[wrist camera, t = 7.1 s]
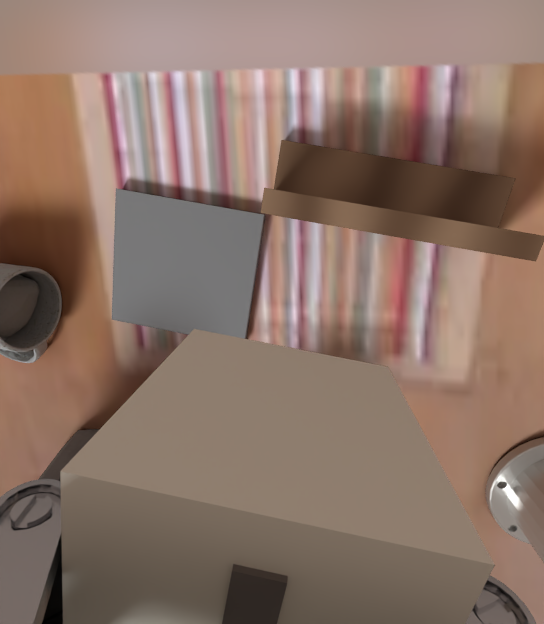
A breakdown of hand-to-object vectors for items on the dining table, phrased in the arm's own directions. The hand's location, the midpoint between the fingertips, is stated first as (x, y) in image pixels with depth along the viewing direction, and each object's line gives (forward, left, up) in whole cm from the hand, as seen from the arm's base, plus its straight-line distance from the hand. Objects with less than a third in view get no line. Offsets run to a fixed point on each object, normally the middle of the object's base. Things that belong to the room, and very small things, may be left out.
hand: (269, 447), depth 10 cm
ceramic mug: (+26, +7, -22) cm, 35 cm away
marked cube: (0, 0, -1) cm, 1 cm away
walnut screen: (-6, -9, -22) cm, 24 cm away
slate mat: (+10, 0, -22) cm, 24 cm away
